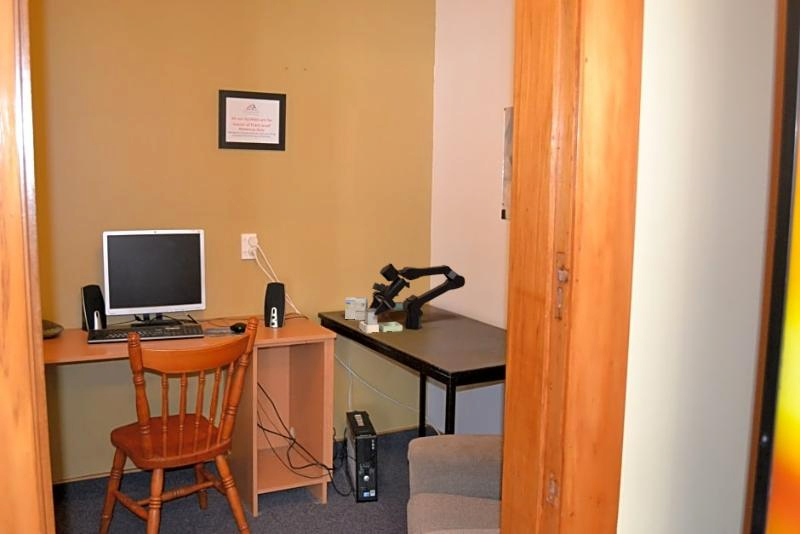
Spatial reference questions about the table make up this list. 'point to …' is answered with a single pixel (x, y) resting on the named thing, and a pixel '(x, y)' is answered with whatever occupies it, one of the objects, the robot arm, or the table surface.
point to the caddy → (370, 316)
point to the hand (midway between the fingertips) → (371, 312)
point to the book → (395, 312)
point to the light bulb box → (355, 308)
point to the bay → (368, 327)
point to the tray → (390, 326)
